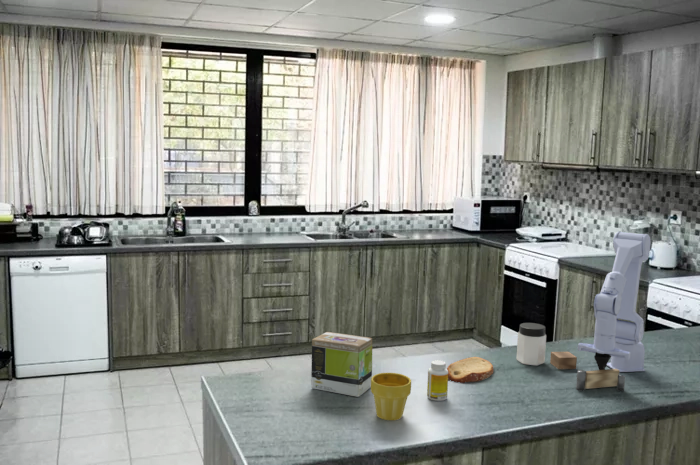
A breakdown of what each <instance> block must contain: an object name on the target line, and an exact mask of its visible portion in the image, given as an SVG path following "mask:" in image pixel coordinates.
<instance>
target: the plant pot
mask: <svg viewBox="0 0 700 465" xmlns="http://www.w3.org/2000/svg"><path fill="white" fill-rule="evenodd" d="M411 391H412V379H411V378H410V377H409V376H407V375H405V374H402V373H398V372H380V373H375V374H374V375H373V376H372V378H371V387H370V392H371V393H372V395H373V399H374V406H375V412H376V413H375V414H376V416H377V417H378V418H379V419H381V420H384V421H397V420H400V419H402V418H403V414H404V411H405V408H406V403H407V400H408V397H409V396H410V395H411Z"/></svg>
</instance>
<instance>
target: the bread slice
mask: <svg viewBox="0 0 700 465" xmlns="http://www.w3.org/2000/svg"><path fill="white" fill-rule="evenodd" d="M446 369H447V370H448V381H450V380H451V381H450V382H452V381H454V382H453V383H458V382H460V383H461V384H465V382H466V383H475V382H482V381H485V380H486V379H488V378H490V377H491V375H493V374H494V365H493V364H492V363H491V362H490V361H489V360H487V359H484V358H482V357H480V356H479V357H478V356H472V357H466V358H463V359H460V360H457V361H454V362H453V363H452V362H451V363H450V364H449V365H448V366H447V367H446Z"/></svg>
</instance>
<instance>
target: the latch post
mask: <svg viewBox="0 0 700 465" xmlns="http://www.w3.org/2000/svg"><path fill="white" fill-rule="evenodd" d="M625 382H626V375H624V374H619V375H618V379H617V386H616V391H617V392H620V391H621V392H625Z"/></svg>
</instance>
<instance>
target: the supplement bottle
mask: <svg viewBox="0 0 700 465" xmlns="http://www.w3.org/2000/svg"><path fill="white" fill-rule="evenodd" d="M446 365H447V363H446V362H445V361H444V360H440V359H439V360H437V359H436V360H432V361H431V362H430V367H429V369H428V370H427V386H426V387H427V388H426V389H427V392H426V396H427V399H429V400H431V401H435V402H443V401H445V400H447V399H448V389H449V388H448V387H449V385H448V384H449V379H448V370H447V366H446Z"/></svg>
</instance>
